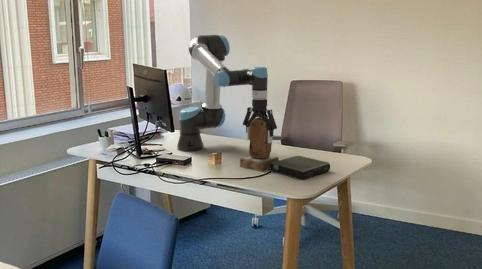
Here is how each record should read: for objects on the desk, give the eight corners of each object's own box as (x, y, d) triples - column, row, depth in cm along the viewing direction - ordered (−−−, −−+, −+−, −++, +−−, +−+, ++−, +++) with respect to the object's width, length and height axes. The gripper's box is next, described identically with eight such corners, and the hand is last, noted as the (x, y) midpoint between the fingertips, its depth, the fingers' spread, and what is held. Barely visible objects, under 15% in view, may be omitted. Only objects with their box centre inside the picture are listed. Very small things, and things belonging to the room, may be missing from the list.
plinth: (240, 166, 268) (240, 158, 267) (256, 160, 278) (256, 152, 278) (262, 171, 259) (262, 162, 258) (278, 165, 270) (278, 157, 269)
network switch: (293, 163, 275) (294, 154, 274) (333, 171, 261) (333, 161, 259) (266, 173, 258) (266, 163, 256) (307, 182, 243) (308, 171, 242)
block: (272, 157, 268) (273, 118, 264) (264, 160, 262) (265, 120, 258) (255, 154, 274) (256, 116, 270) (246, 156, 268) (247, 118, 264)
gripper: (235, 97, 266) (235, 139, 271) (275, 101, 251) (275, 145, 256) (244, 95, 272) (244, 136, 276) (284, 99, 257) (283, 143, 262)
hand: (259, 141), depth 266 cm, fingers open, 12 cm apart
